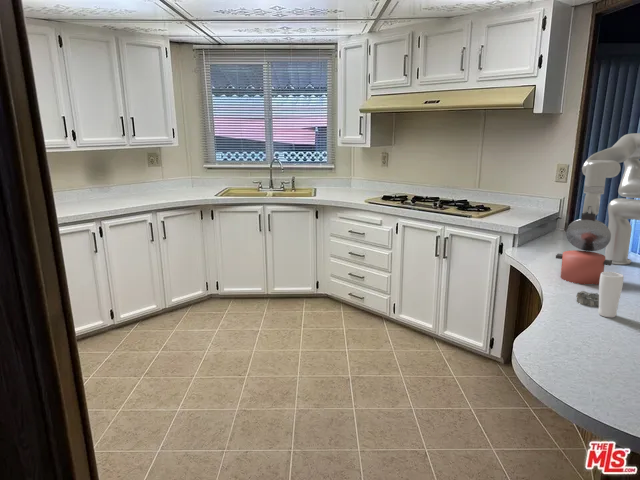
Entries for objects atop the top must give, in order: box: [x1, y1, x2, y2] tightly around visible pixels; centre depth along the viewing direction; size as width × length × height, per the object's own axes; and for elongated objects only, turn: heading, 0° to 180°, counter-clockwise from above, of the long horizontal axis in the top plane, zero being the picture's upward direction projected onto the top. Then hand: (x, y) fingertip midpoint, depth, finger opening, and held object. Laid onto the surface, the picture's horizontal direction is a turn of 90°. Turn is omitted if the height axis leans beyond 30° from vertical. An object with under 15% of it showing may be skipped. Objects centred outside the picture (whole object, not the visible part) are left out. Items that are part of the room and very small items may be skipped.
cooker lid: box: [565, 212, 611, 252], centre depth 191 cm, size 20×17×3 cm
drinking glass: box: [597, 271, 624, 318], centre depth 151 cm, size 7×7×15 cm
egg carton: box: [575, 290, 599, 307], centre depth 163 cm, size 11×8×4 cm
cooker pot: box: [555, 249, 613, 285], centre depth 191 cm, size 18×21×11 cm
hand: (589, 231), depth 193 cm, fingers closed
